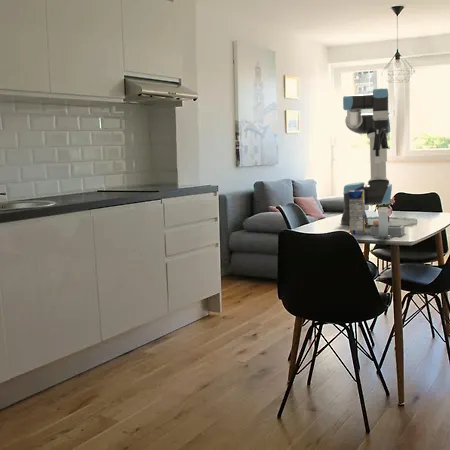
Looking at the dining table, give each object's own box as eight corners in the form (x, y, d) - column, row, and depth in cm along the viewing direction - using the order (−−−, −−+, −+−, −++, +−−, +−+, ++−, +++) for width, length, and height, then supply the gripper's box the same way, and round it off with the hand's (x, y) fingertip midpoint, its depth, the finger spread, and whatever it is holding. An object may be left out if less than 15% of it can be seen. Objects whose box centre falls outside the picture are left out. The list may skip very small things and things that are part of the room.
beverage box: (349, 234, 303) (348, 191, 300) (351, 231, 313) (351, 189, 311) (363, 234, 301) (362, 191, 298) (365, 231, 311) (364, 189, 308)
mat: (373, 238, 288) (373, 237, 288) (376, 236, 294) (376, 235, 294) (390, 239, 284) (390, 237, 284) (393, 236, 290) (393, 235, 290)
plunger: (372, 232, 300) (372, 221, 299) (374, 231, 304) (374, 220, 304) (382, 233, 298) (381, 222, 297) (384, 231, 302) (384, 220, 301)
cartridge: (377, 237, 288) (377, 208, 287) (379, 235, 292) (379, 207, 291) (387, 237, 286) (386, 208, 284) (389, 235, 290) (389, 207, 288)
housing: (370, 235, 299) (370, 227, 298) (374, 232, 307) (374, 224, 306) (400, 236, 292) (400, 228, 291) (404, 233, 300) (404, 225, 299)
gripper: (382, 119, 286) (382, 163, 289) (393, 119, 308) (393, 160, 311) (366, 120, 290) (367, 164, 293) (379, 120, 311) (379, 160, 314)
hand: (381, 162), depth 302 cm, fingers open, 13 cm apart
